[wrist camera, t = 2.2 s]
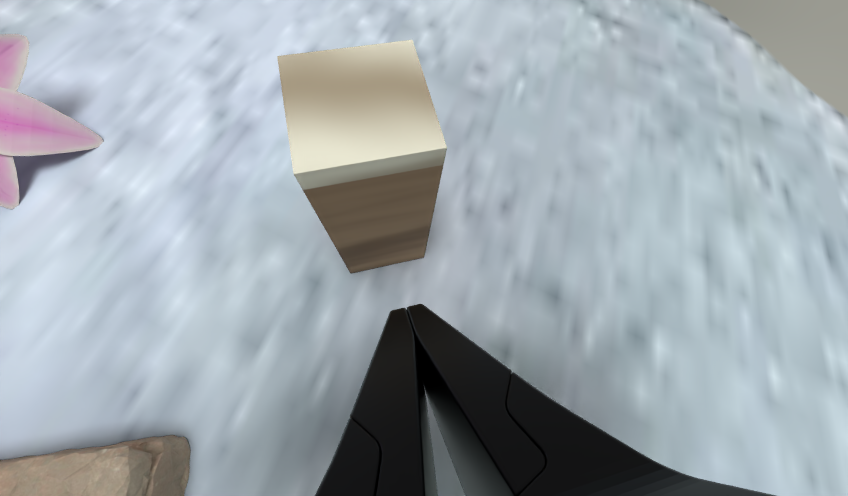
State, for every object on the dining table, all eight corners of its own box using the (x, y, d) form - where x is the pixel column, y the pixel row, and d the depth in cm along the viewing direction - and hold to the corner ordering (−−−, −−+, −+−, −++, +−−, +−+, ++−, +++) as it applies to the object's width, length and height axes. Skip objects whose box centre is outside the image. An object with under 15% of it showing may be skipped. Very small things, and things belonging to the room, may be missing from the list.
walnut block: (424, 257, 22) (446, 147, 11) (350, 273, 21) (293, 174, 10) (407, 193, 24) (412, 39, 12) (338, 206, 23) (277, 56, 12)
